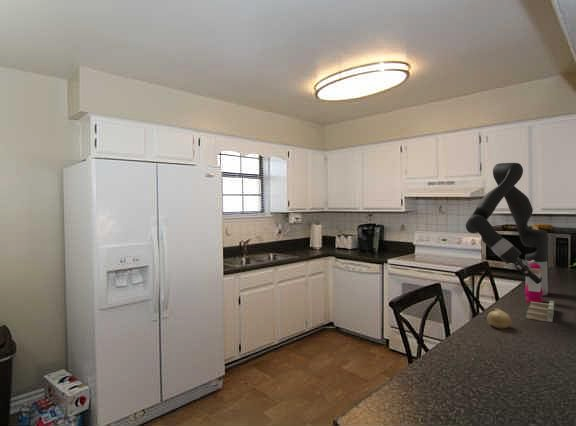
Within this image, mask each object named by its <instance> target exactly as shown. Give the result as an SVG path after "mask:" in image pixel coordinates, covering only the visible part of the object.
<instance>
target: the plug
mask: <svg viewBox="0 0 576 426" xmlns="http://www.w3.org/2000/svg"><path fill="white" fill-rule="evenodd" d="M530 270H531V271H532V272H533V273H534V274H535V275H536V276H537V277H538V278H540V269H536V268H530ZM540 290H541V288H540V283H539V284H536V283H535V282H534V281H533V280H532V279H531V278H530V277H528V291H535V292H540Z"/></svg>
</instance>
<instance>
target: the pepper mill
mask: <svg viewBox="0 0 576 426" xmlns="http://www.w3.org/2000/svg"><path fill="white" fill-rule="evenodd" d="M529 265H530V266H531V267H532V268H536V269H540V272H541V267H540V266H539V265H538V264H535V261H534V260H532V261H531V263H530V264H529ZM540 288H541V286H540ZM524 294H525V301H526V302H528V303H530V302H538V303H543V300H542V299H543V298H542V295H543V291H542V288H541V290H540V292H535V291H528V283H527V285H526V284H525V287H524Z"/></svg>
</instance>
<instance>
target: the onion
mask: <svg viewBox="0 0 576 426" xmlns="http://www.w3.org/2000/svg"><path fill="white" fill-rule="evenodd" d="M486 319H487V322H488V324H489V325H490V326H492V327H494V328H497V329H499V330H501V329H507V328H509V327H510V326H511V324H512V319H511V317H510V315H509V314H508V313H506V312H505V311H503V310H502V309H501V308H496V307H495V308H494V307H492V311H490V312H489V313H488V314H487V316H486Z"/></svg>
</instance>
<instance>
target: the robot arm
mask: <svg viewBox="0 0 576 426" xmlns="http://www.w3.org/2000/svg"><path fill="white" fill-rule="evenodd" d="M523 173H524V169H523V165H521V163H519V162H501V163H496V164H495V165H494V166H493V168H492V175H493V178H494V180H495V183H496V185H497V186H495V187H494V188H493V189H491V190H490V191H488V192H487V193H486V194H485V195H484V196H483V197H482V198H481V200H480V201H479V202H478V204H477V206H476V208H475V209H474V211H473V212H472V214H471V215H470V217H469V218H468V219H467V221H466V222H465V230H466V231H467V232H468V233H470V234H479V235H480V237H481V240H482V242H483V243H484V244H485V245H486V246H487V247H489V248H490V249H491V251H492V252H493V253H494V254H495V255H496V256H497V257H498V258H500V260H501V261H503V263H505V264H507V265H509V264H511V263H512V264H514V267H515V269H516V270H518V271H519V272H520V273H521V274H523V275H524V276H525V286H526V285H527V283H528V277H530V278H531V279H532V280H533V281H534V282H535V283H536V284H539V283H540V286H541V288H542V291H543V295H542V296H544V297H545V296H548V290H549V289H548V287H549V286H548V285H549V284H548V256H549V255H548V254H549V253H548V252H549V234H548V232H547V231H546V230H544V229H530V228H529V226H528V223H529V220H530V218H531V217H532V215H533V212H534V211H533V209H534V208H533V206H532V203H531V201H530V198H529V197H528V196H527V195H526V194H525V193H524V192H522V191H521V190H520V189H518V188H517V187H516V186H515V185H516V184H518V182H519V181H521V178H522V176H523ZM503 199H505V201H506V205H507V207H508V209H509V211H510V214H511V215H512V219H513V220H514V223H515V225H516V228H517V232H518V235H519V239H520V241H521V243H522V245H523V246H525V247H526V248H527V247H528V248H536V250H535V251H534V252H532V253H526V254H525V256H524V258H520V256H521V255H522V252H521V251H520V249H518V248H517V247H516V246H514V244H512V243H511V242H510V241H509V240H507V239H505V237H503V235H501V234H500V233H498V232H497V231H496V230H495V228H494V226H493V225H492V224H491V223H490V222H489V221H488V220H489V218H490V217H491V216H492V214H493V213H494V212H495V210H496V208H497V207H498V205H499V204H500V202H502V200H503ZM532 260H534V261H535V264H538V265H539V266H540V267H541V272H540V278H538V277H537V276H536V275H535V274H534V273H533V272H532V271H531V270H530V268H532V267H531V266H530V265H529V264H530V263H531V261H532ZM542 296H541V297H542Z"/></svg>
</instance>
